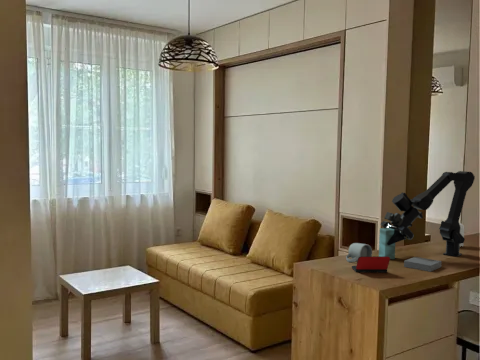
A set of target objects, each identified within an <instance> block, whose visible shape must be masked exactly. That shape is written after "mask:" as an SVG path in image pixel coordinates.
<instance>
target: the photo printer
mask: <svg viewBox="0 0 480 360" xmlns="http://www.w3.org/2000/svg"><path fill="white" fill-rule="evenodd" d="M459 224H460V234H461V235H462V236H463V237H464V238H465V225H464V224H463V223H462V222H459ZM464 243H465V242H464ZM464 243H461V244H460V248H461V246H462V247H464V245H465V244H464Z"/></svg>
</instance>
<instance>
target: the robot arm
mask: <svg viewBox="0 0 480 360" xmlns="http://www.w3.org/2000/svg"><path fill="white" fill-rule="evenodd" d="M452 181H453V186H454V193H453V196H452V200H451V204H450V207H449V212H448V216H447V217H446V220H442V221H440V226H439V228H438V230H439V234H440V236H441V237H442V241H446V242H445V252H443V253H442V255H444V256H445V255H446V256H451V257H460V256H463V253H460V248H461V247H460V244H461V243H465V241H466V240H465V239H466V238H465V236H464V237H463V236H462V235H461V234H460V224H459V223H460V218H461V215H462V212H463V211H462V210H463V207H464V203H465V199H466V196H467V192H468V191H469V190H470V189H471V188H472V186H473V185H474V182H475V174H474V173H473V172H471V171H468V170H467V171H464V170H458V171H457V172H453V171H444V172H442V174H441V176H439V178H438V179H436V180H435V181H434V182H433V183H432V184H431V185H430V186H429V187H428V188H427V189H425V191H423V192H421V193H419V194H416V196H414V197H413V198H411V199H410V197H409V196H408V195H407V193H405V192H401V193H400V194H397V195H396V196H394V197H393V198H392V201H391V202H392V204H394V206H395V207H396V208H397V209H398V210H399V211H400V212H402V214H400V213H398V212H395V213H393V212H389V211H386V212H385V216H384V220H383V221H382V222H381V223H380V226H381V227H382V228H391V229H394V234H393V236H392V237H391V238H390V240H389V241H388V243H387V245H391V244H394V243H395V244H396V243H398V242H402V241H405V240H410V241H411V240H413V238H414V232H412V231H411V229H410V228H411V227H413V222H414V221H416V219H417V218H419V219H423V217H424V215H423V212H422V211H427V210H429V208H430V207H431V206H432V205H433V203H434V199H435V198H436V197H437V195H439V194H440V193H441V192H442V191H443V190H444V189H445V188H446V187H447V186H448V185H449V184H450V183H451V182H452ZM419 210H422V211H419ZM409 227H410V228H409Z"/></svg>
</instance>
